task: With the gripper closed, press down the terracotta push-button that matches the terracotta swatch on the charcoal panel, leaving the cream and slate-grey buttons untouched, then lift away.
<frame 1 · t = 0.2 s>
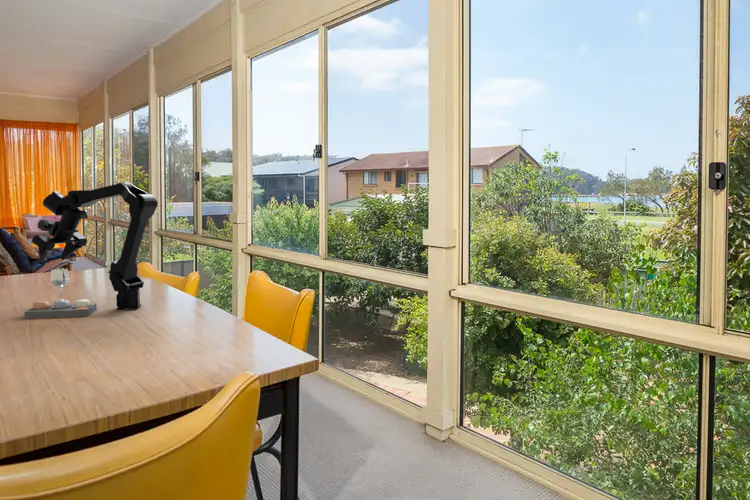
hand: (51, 260, 197), 15 cm above the table, tool tilted 30°, fingers open, 9 cm apart
wineglass: (61, 303, 199), on the table
terracotta button: (41, 306, 180), point 3 cm above the table, slide at 0.0 cm
button panel: (62, 313, 181), on the table
slate button: (61, 305, 181), point 3 cm above the table, slide at 0.0 cm
cream button: (81, 304, 182), point 3 cm above the table, slide at 0.0 cm
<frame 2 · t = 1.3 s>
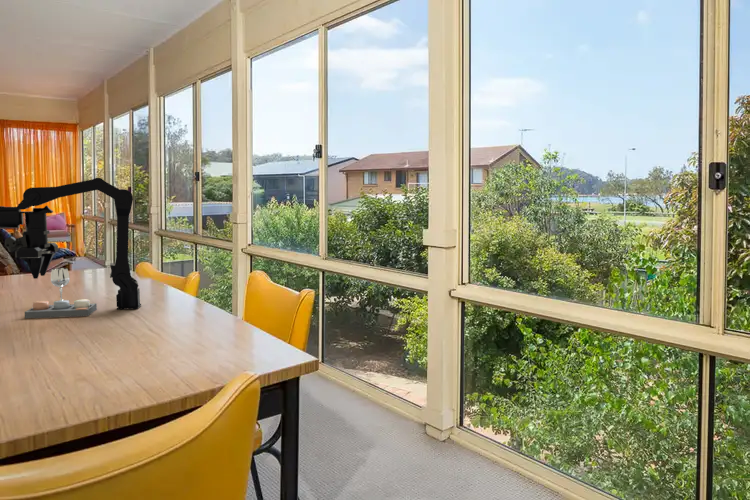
hand: (39, 277, 179), 12 cm above the table, tool pointing down, fingers open, 6 cm apart
nothing on the table moved.
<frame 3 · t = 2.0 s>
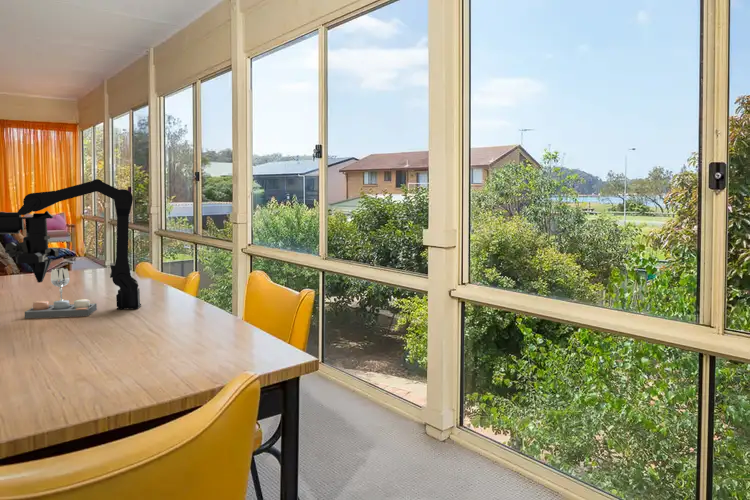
hand: (40, 282, 179), 10 cm above the table, tool pointing down, fingers closed
nothing on the table moved.
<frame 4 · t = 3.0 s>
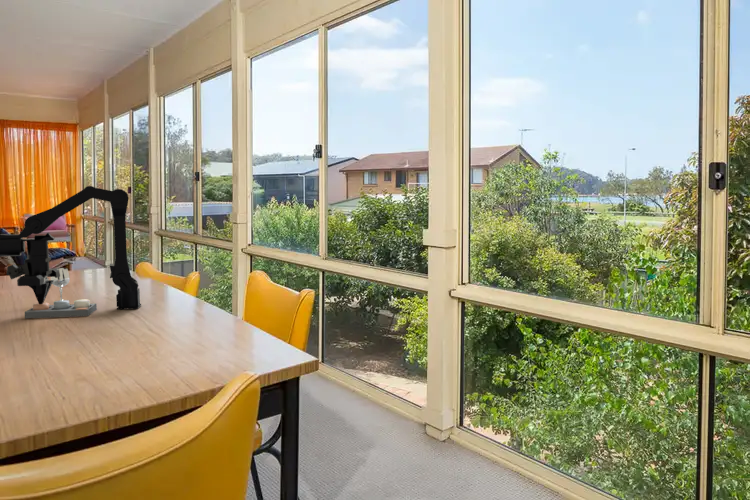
hand: (41, 303, 180), 3 cm above the table, tool pointing down, fingers closed, pressing on terracotta button
terracotta button: (41, 307, 180), point 2 cm above the table, slide at 0.5 cm, touching gripper
everything else where it was.
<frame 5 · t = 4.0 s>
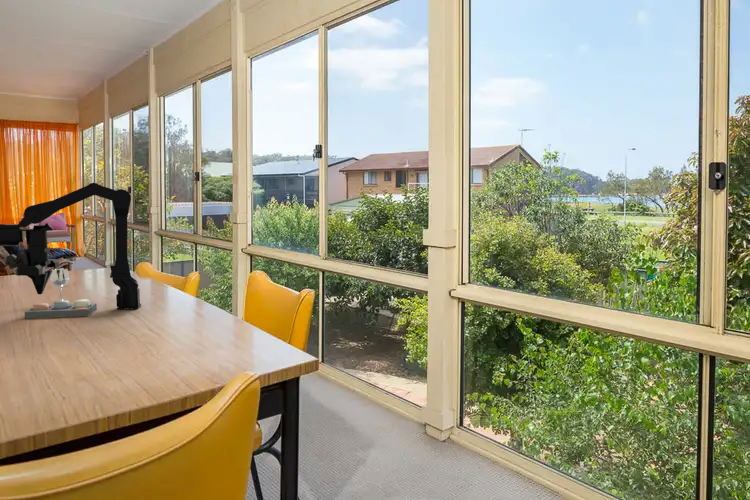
hand: (40, 294, 179), 7 cm above the table, tool pointing down, fingers closed
terracotta button: (41, 308, 180), point 2 cm above the table, slide at 0.7 cm
everything else where it was.
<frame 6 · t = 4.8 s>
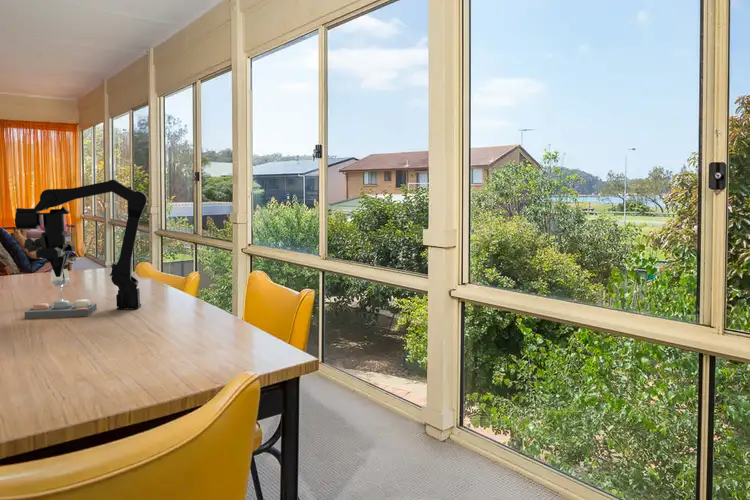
hand: (58, 276, 183), 12 cm above the table, tool pointing down, fingers closed
nothing on the table moved.
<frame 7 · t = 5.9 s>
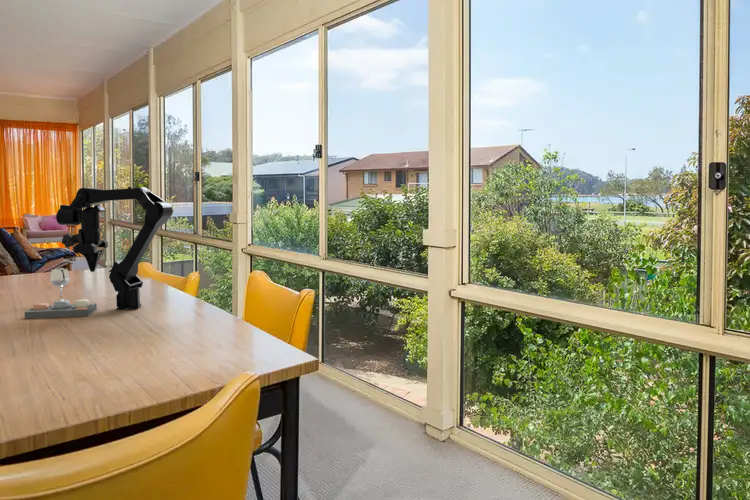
hand: (92, 271, 191), 12 cm above the table, tool pointing down, fingers closed
nothing on the table moved.
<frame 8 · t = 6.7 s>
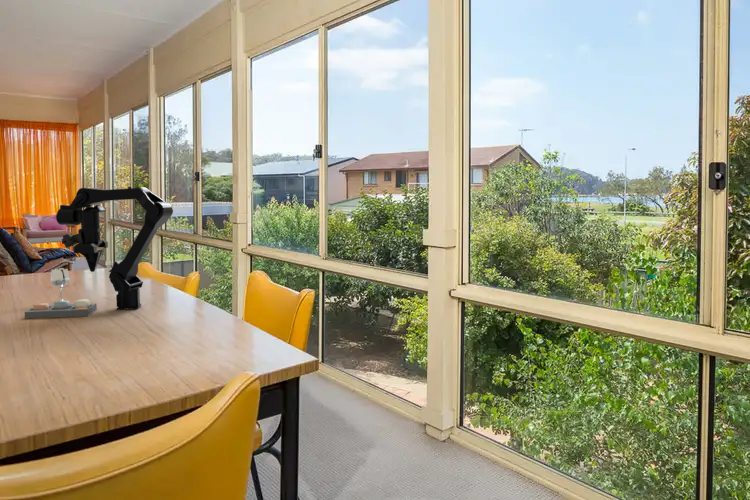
hand: (92, 271, 191), 12 cm above the table, tool pointing down, fingers closed
nothing on the table moved.
at the end: terracotta button slide at 0.7 cm; slate button slide at 0.0 cm; cream button slide at 0.0 cm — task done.
